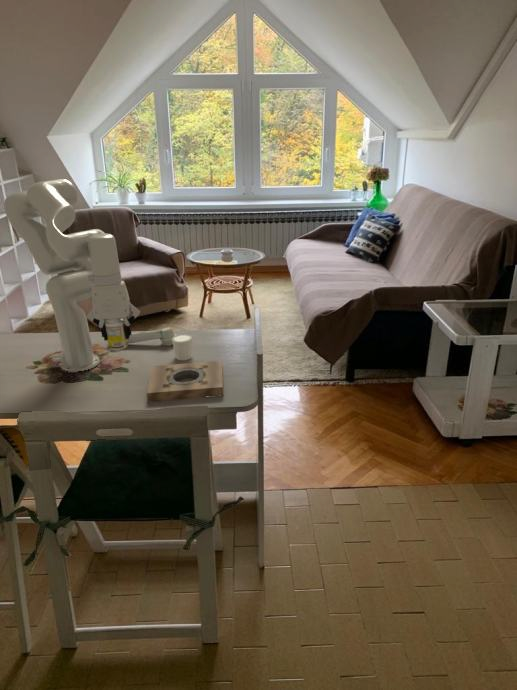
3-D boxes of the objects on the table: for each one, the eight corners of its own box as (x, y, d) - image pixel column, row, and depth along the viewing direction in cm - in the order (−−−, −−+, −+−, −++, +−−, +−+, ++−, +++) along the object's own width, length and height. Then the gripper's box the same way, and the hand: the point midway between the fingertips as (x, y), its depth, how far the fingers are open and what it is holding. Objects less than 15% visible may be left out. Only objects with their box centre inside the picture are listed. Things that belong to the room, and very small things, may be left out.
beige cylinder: (195, 352, 191) (193, 333, 188) (191, 361, 184) (189, 342, 182) (176, 352, 191) (174, 334, 189) (171, 361, 185) (169, 342, 182)
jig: (148, 402, 160) (146, 393, 159) (154, 374, 177) (153, 366, 175) (223, 396, 161) (222, 387, 160) (222, 369, 178) (221, 360, 176)
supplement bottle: (120, 341, 166) (115, 309, 162) (132, 345, 162) (127, 313, 158) (105, 347, 162) (99, 315, 158) (116, 352, 159) (111, 319, 154)
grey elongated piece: (110, 332, 202) (175, 322, 198) (115, 349, 204) (179, 339, 201) (105, 338, 197) (172, 327, 194) (111, 355, 199) (177, 344, 196)
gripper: (73, 284, 150) (85, 345, 157) (136, 280, 151) (145, 341, 158) (79, 277, 157) (90, 335, 164) (140, 273, 158) (148, 331, 165)
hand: (117, 337), depth 161 cm, fingers closed on supplement bottle, 5 cm apart
